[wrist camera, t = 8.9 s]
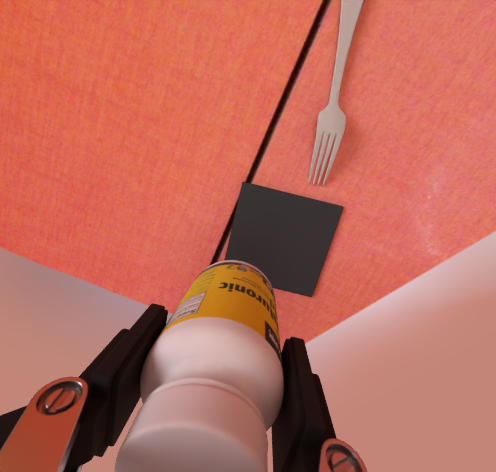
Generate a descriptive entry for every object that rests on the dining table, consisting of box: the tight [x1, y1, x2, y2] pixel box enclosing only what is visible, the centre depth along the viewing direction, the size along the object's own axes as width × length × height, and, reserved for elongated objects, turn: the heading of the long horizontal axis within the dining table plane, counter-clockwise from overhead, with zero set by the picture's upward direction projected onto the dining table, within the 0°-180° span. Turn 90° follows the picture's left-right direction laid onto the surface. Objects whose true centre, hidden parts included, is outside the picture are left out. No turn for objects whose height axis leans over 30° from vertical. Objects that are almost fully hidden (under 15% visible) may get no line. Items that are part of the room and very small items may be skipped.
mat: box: [225, 182, 343, 297], centre depth 29 cm, size 12×12×1 cm
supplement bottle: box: [115, 260, 284, 472], centre depth 11 cm, size 5×5×10 cm
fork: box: [308, 0, 364, 186], centre depth 24 cm, size 3×21×3 cm, turn 173°
